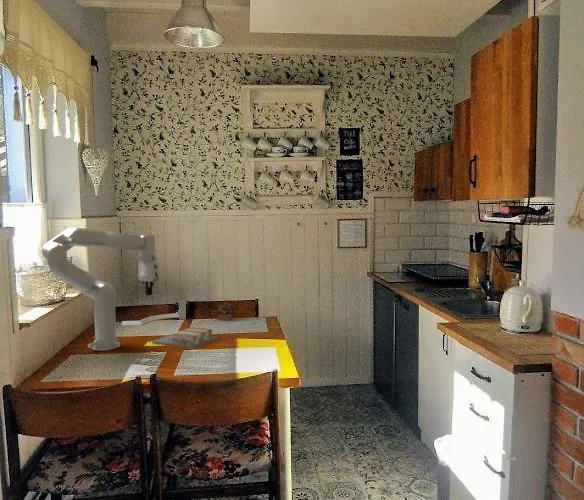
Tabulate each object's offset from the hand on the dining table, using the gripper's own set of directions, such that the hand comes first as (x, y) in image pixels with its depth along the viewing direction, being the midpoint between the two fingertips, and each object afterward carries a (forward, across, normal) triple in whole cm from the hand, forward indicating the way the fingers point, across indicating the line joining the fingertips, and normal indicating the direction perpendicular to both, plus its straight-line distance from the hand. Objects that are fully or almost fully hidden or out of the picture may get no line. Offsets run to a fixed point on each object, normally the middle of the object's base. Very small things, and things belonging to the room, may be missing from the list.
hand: (149, 294), depth 253 cm
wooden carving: (+23, -11, -52) cm, 58 cm away
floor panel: (+23, -18, -3) cm, 30 cm away
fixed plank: (+23, -27, -3) cm, 36 cm away
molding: (+24, +32, -39) cm, 55 cm away
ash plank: (+22, -21, -3) cm, 31 cm away
